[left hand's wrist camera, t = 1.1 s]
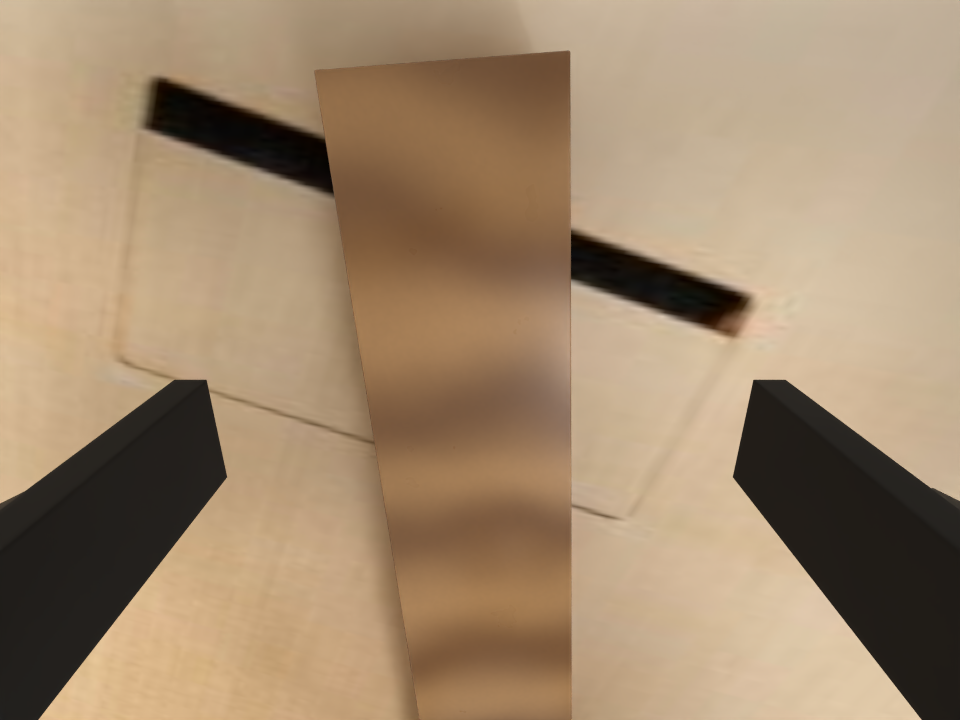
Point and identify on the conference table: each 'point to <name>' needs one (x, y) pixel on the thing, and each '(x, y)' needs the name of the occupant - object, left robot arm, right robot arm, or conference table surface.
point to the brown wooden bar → (466, 361)
